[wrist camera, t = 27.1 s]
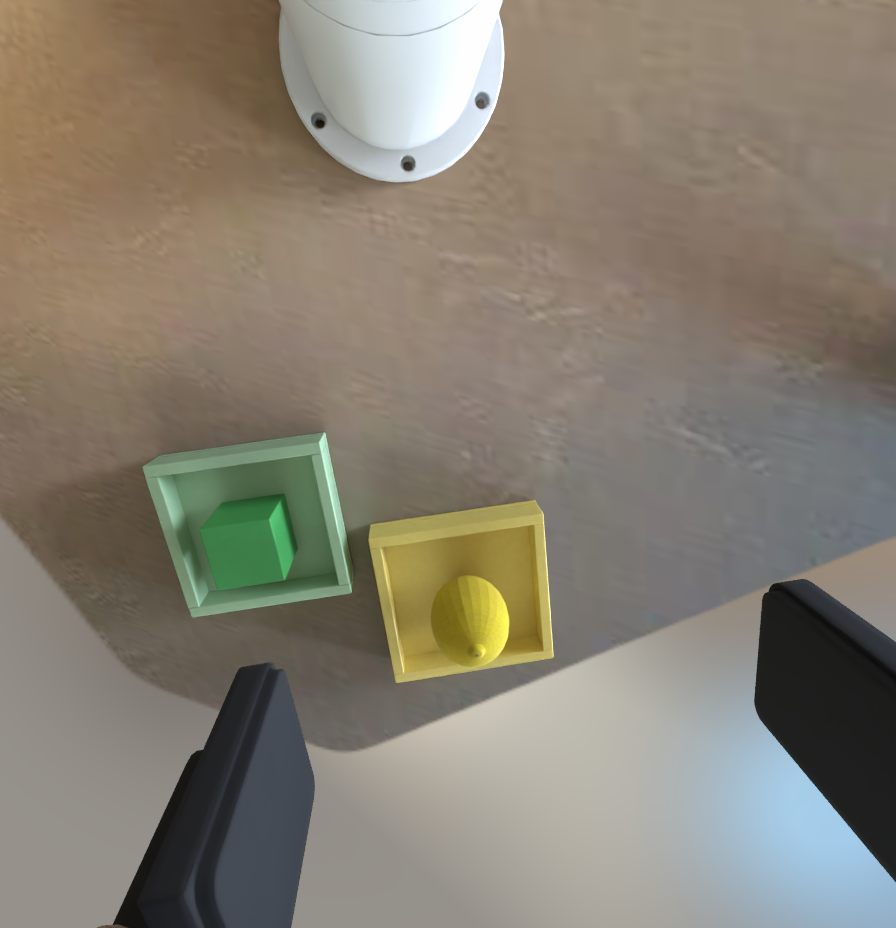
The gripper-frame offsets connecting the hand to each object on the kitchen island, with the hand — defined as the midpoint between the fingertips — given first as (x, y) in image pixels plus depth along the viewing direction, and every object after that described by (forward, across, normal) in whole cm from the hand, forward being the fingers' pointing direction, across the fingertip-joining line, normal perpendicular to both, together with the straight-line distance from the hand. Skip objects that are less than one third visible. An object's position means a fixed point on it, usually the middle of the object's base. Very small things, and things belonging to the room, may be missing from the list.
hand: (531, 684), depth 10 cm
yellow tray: (+28, 0, +15) cm, 32 cm away
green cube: (+28, +14, +7) cm, 32 cm away
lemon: (+28, 0, +15) cm, 32 cm away
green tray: (+28, +14, +7) cm, 32 cm away
